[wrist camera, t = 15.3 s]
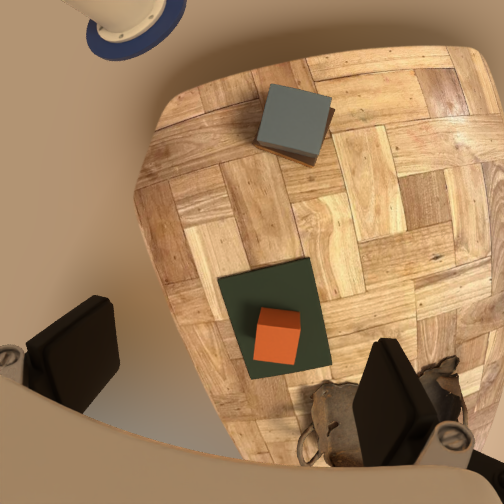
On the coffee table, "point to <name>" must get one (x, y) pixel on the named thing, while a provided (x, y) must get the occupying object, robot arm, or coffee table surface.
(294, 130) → the middle block
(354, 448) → the rusty handled basin
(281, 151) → the bottom block
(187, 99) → the coffee table surface
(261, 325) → the top cube
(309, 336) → the mat
